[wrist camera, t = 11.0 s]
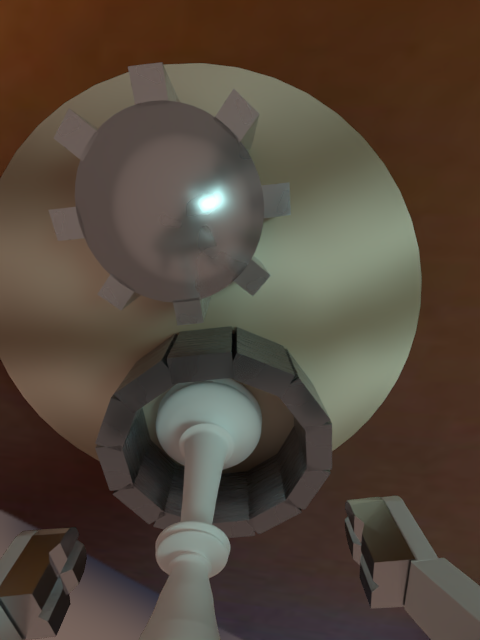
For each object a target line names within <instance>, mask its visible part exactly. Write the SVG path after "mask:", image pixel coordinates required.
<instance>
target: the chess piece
mask: <svg viewBox="0 0 480 640" xmlns="http://www.w3.org/2000/svg"><path fill="white" fill-rule="evenodd" d="M261 426H262V414H261V409H260V406H259V404H258V402H257V400H256V398H255V397H254V396H253V394H252V393H251V392H250V391H249V390H248V389H247V388H246V387H244V386H243V385H241V384H240V383H238V382H236V381H234V380H232V379H229V378H226V379H217V380H207V381H197V382H188V383H178V384H176V385H175V386H173V387H172V388H171V389H170V390H169V391H168V392H167V393H166V394H165V396H164V397H163V399H162V400H161V402H160V405H159V408H158V413H157V418H156V434H157V437H158V440H159V443H160V444H161V446H162V448H163V449H164V451H165V452H166V453H167V454H168V455H169V456H170V457H171V458H172V459H174V460H175V461H176V462H178V463H180V464H182V465H184V466H185V469H184V486H183V500H182V509H181V521H180V522H177V523H174V524H172V525H170V526H168V527H167V528H165V529H164V530H163V531H162V532H161V533H160V534H159V536H158V538H157V540H156V544H155V549H156V561H157V563H158V565H159V566H160V568H161V569H162V570H163V571H164V572H166V573H167V574H168V575H170V576H169V578H168V580H167V582H166V583H165V585H164V587H163V589H162V591H161V593H160V595H159V598H158V601H157V603H156V606H155V608H154V611H153V613H152V615H151V617H150V619H149V621H148V623H147V625H146V627H145V629H144V630H143V632H142V634H141V636H140V638H139V640H221V639H220V636H219V632H218V628H217V623H216V618H215V612H214V602H213V596H212V591H211V587H210V582H209V578H210V577H213V576H215V575H216V574H218V573H219V572H220V571H221V570H222V569H223V568H224V567H225V565H226V563H227V560H228V556H229V553H230V542H229V539H228V537H227V536H226V534H225V533H224V532H223V531H222V530H221V529H219V528H218V527H216V526H214V525H212V522H213V517H214V511H215V504H216V499H217V494H218V489H219V484H220V479H221V474H222V470H223V469H227V468H230V467H233V466H235V465H237V464H239V463H241V462H242V461H244V460H245V459H246V458H247V457H248V456H249V455H250V454H251V453H252V452H253V451H254V449H255V448H256V446H257V444H258V442H259V439H260V435H261Z"/></svg>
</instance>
